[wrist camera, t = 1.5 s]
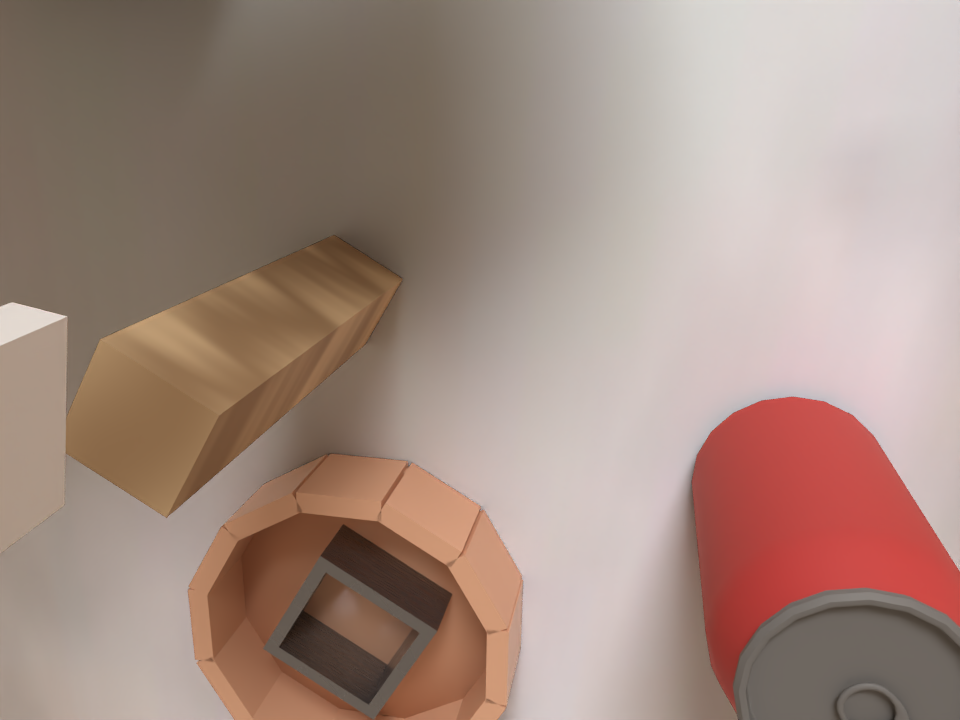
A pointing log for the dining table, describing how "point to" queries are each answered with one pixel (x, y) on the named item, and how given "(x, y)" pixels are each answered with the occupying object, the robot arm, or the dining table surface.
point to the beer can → (821, 572)
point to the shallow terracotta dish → (399, 531)
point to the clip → (340, 658)
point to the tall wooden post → (221, 370)
